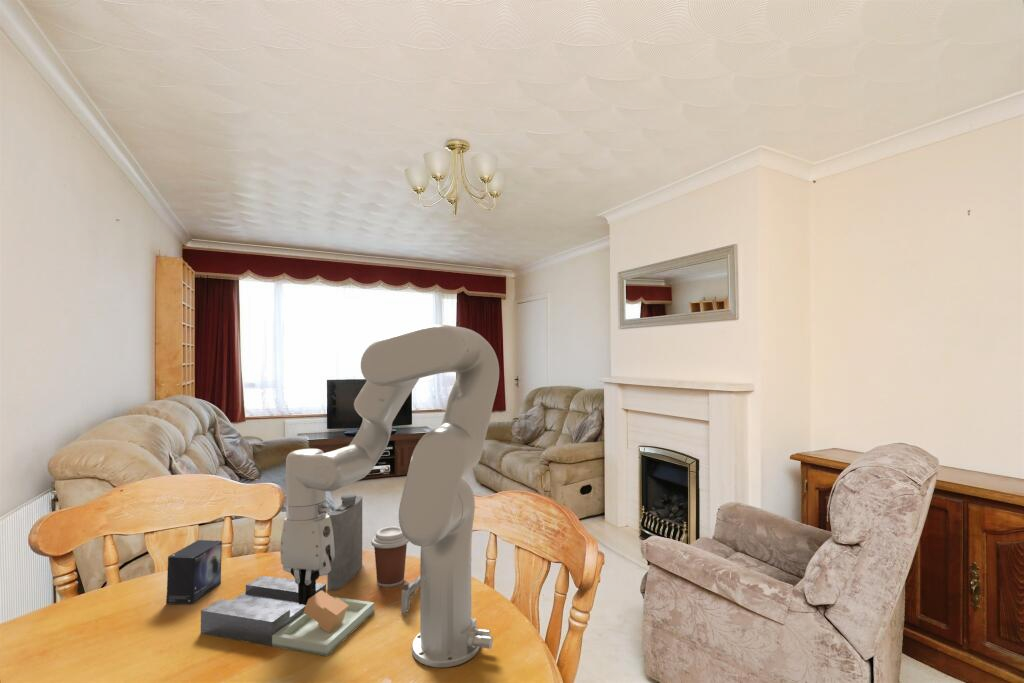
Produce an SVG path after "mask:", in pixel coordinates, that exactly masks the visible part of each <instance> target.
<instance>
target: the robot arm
mask: <svg viewBox="0 0 1024 683" xmlns="http://www.w3.org/2000/svg"><path fill="white" fill-rule="evenodd" d="M360 359H361V360H360V371H361V374H362V376H363V378H364V379H365V380H366V381H365V383H364V385H363V386H362V388H361V389H360V391H359V393H358V394H357V396H356V397H355V399H354V402H353V408H354V410H355V412H356V413H357V414H358V415H359V416H360V417H361V419H362V422H361V424H360V427H359V429H358V431H357V432H356V434H355V436H354V437H353V438H352V440H351V441H350V443H349V444H348V445H347V446H344V447H341V448H337V449H334V450H331V451H330V450H329V451H327V452H324V450H322V449H319V448H302V449H297V450H293V451H291V452H289V453H288V454H287V456H286V459H285V500H286V502H285V504H286V507H285V508H286V509H285V510H286V514H285V515H286V517H284V520H283V523H282V529H281V530H282V531H281V538H280V564H281V565H282V569H283V571H284V572H286V573H287V572H288V573H290V574H291V575H292V577H293V578H294V580H295V583H296V584H298V603H299V604H300V605H302V604H303V605H306V604H307V601H308V599H309V598H311V597H312V596H314V595H315V594H316V583H317V580H318V579H319V578H320V577H322V576H323V577H324V576H328V574H329V573H330V572H331V566H330V563H331V562H333V561H334V559H335V547H334V536H333V529H332V523H331V519H330V516H329V515H328V513H329V512H331V511H330V510H331V507H330V506H329V505H327V498H326V497H327V496H326V494H327V493H326V492H333V491H336V490H339V489H342V488H344V487H347V486H348V485H352V484H353V483H355V482H357V481H361V480H362V479H364V478H365V477H367V475H368V474H370V473H371V471H372V470H373V469H374V468H375V466H376V464H377V463H378V461H379V460H380V459H381V456H382V455H383V454H384V452H385V450H386V449H387V447H388V444H389V442H390V439H391V434H392V428H393V422H394V421H395V419H396V416H397V415H398V413H399V412H400V410H401V408H402V406H404V404H405V402H406V400H407V399H408V397H409V396H410V394H411V393H412V391H413V390H414V388H415V386H416V385H417V383H418V382H419V380H420V379H422V378H426V377H429V376H430V377H431V376H435V375H439V374H445V373H446V374H447V373H456V374H455V375H456V377H455V381H454V384H453V386H452V388H451V390H450V393H449V395H448V399H447V404H446V408H445V412H444V415H443V418H442V422H441V424H440V426H438V427H436V428H433V429H431V430H428V431H427V432H426V433H425V434H423V436H421V438H420V439H419V440H418V442H417V444H416V445H415V446H414V449H413V452H412V454H411V458H410V461H409V466H408V470H407V473H406V474H407V475H406V478H405V482H404V486H403V490H402V493H401V498H400V503H399V508H398V523H399V524H398V525H399V527H400V528H401V531H402V533H403V535H404V536H405V538H406V539H407V540H408V541H409V542H408V543H411V544H412V545H414V546H418V547H420V565H419V566H420V567H419V568H420V569H419V570H420V571H419V572H420V575H419V576H420V586H419V587H420V589H419V590H420V591H419V592H420V593H419V594H420V595H419V597H420V601H419V602H420V605H419V606H420V607H419V608H420V609H419V610H420V611H419V612H420V621H419V624H420V627H419V629H420V631H419V633H418V634H416V636H415V637H414V638H413V640H412V643H411V654H412V655H413V658H414V659H415V660H416V661H418V662H419V663H421V664H422V665H425V666H428V667H433V668H450V667H456V666H459V665H461V664H465V663H466V662H468V661H470V660H472V658H473V657H475V656H476V654H477V653H478V652H479V650H480V648H481V649H482V648H483V649H490V650H491V649H492V647H493V644H494V643H493V642H494V638H493V636H491V630H490V629H485V628H479V626H477V618H476V617H472V543H473V541H472V540H473V539H472V538H473V529H474V526H473V525H474V518H475V506H476V505H475V504H476V502H475V495H474V491H473V489H472V487H471V485H470V484H469V482H468V481H467V480H466V479H464V478H463V477H464V475H466V474H467V473H469V472H470V471H471V470H473V469H474V468H475V467H477V465H478V464H479V462H480V461H481V459H482V454H483V451H484V446H485V441H486V438H487V433H488V430H489V424H490V421H491V418H492V416H491V415H492V412H493V406H494V402H495V399H496V395H497V390H498V386H499V380H500V364H499V359H498V356H497V354H496V352H495V350H494V348H493V347H492V345H491V344H490V342H489V341H487V339H486V338H484V337H483V336H482V335H481V334H480V333H478V332H476V331H475V330H473V329H470V328H467V327H463V326H462V327H461V326H456V325H455V326H454V325H447V324H434V325H428V326H425V327H420V328H417V329H414V330H410V331H407V332H404V333H400V334H396V335H392V336H388V337H385V338H382V339H378V340H376V341H374V342H373V343H372V344H371V345H369V346H368V347H367V348H366V349H365V350H364V352H363V353H362V356H361V358H360Z"/></svg>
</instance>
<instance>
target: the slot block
mask: <svg viewBox="0 0 1024 683" xmlns="http://www.w3.org/2000/svg"><path fill="white" fill-rule="evenodd" d="M321 590H322V591H324V592H325V593H327V584H326V583H320V582H319V583H318V582H316V593H318V592H319V591H321ZM305 607H306V605H303V604H302V605H300V604H299V603H298V584H296V583H295V579H289V578H285V577H284V578H282V577H275V576H270V575H269V576H268V575H261V576H259V577H257V578H256V579H254V580H252V581H250V582H248V583H246V584H245V592H243V593H241V594H240V595H238V596H237V597H234V598H233V599H231V600H230V599H223V598H220V599H219V600H216V601H215V602H214V603H212V604H210V605H208V606H206V607H205V608H203V609H201V610H200V634H202V635H206V636H207V635H208V636H212V637H218V638H224V639H228V640H233V641H234V640H235V641H240V642H241V641H242V642H245V643H250V644H251V643H252V644H258V645H263V646H268V647H273V646H272V635H274V634H275V633H276V632H278V631H279V630H280V629H282V628H283V627H284V626H286V625H287V624H289V623H290V622H291V621H293V620H294V619H295V618H297V617H298V616H299V615H301V614H302V613H303V612H304V609H305Z"/></svg>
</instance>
